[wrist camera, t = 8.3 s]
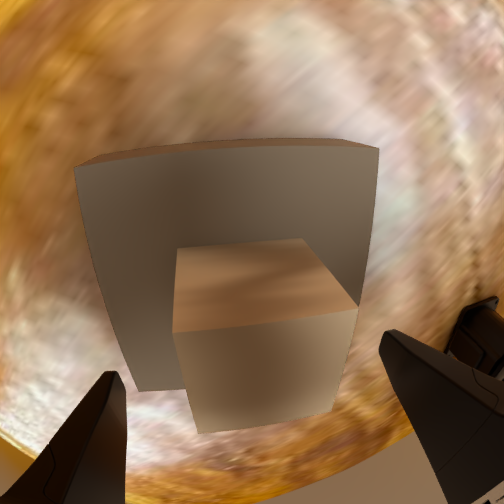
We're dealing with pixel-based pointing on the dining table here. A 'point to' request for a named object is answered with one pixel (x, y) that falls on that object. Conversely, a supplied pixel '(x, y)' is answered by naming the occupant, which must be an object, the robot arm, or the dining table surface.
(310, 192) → the gray block
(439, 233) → the dining table surface
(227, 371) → the cream cube
